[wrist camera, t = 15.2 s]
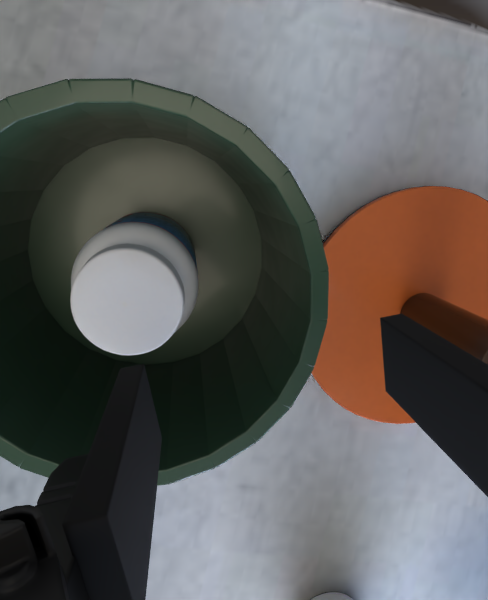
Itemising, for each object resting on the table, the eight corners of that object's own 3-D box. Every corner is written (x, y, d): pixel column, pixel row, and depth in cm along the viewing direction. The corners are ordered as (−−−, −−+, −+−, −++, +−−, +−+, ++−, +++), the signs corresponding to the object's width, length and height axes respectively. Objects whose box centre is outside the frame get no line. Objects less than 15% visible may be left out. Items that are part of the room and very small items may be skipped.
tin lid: (538, 181, 31) (698, 181, 21) (506, 405, 36) (625, 487, 26) (295, 190, 29) (351, 194, 19) (295, 426, 34) (340, 525, 24)
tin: (269, 122, 28) (333, 76, 16) (273, 361, 32) (325, 466, 20) (-4, 127, 26) (-166, 79, 14) (40, 380, 30) (-55, 510, 18)
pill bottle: (112, 199, 27) (65, 210, 16) (205, 226, 28) (218, 252, 18) (92, 289, 29) (36, 353, 18) (182, 311, 30) (180, 384, 19)
